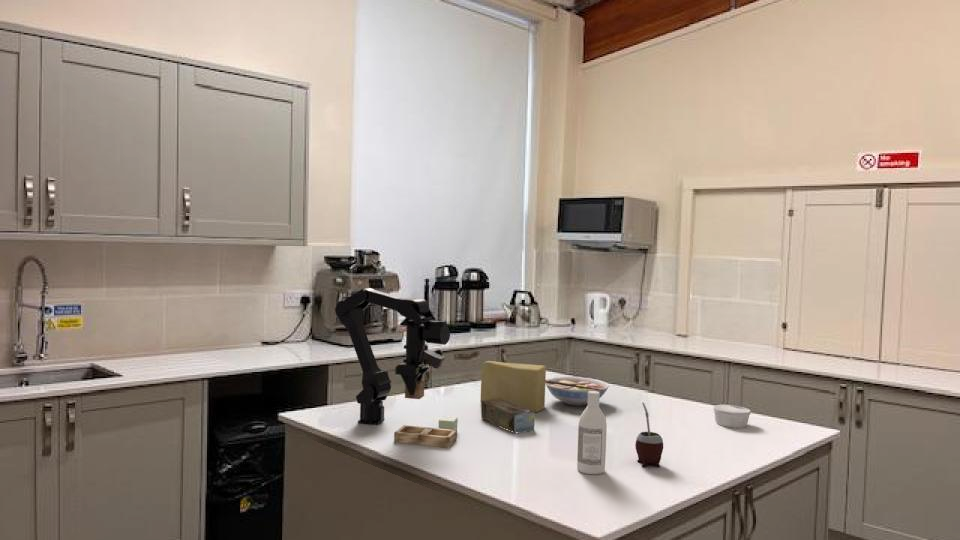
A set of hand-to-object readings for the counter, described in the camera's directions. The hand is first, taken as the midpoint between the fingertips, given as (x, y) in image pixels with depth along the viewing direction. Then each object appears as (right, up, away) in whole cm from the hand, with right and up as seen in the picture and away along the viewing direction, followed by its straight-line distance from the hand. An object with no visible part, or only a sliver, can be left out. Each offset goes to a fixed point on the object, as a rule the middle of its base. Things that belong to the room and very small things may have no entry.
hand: (414, 393), depth 206 cm
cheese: (+30, -11, +33) cm, 46 cm away
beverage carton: (+28, -12, +9) cm, 32 cm away
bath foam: (+48, -14, -32) cm, 59 cm away
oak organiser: (+4, -11, -11) cm, 16 cm away
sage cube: (+10, -11, -3) cm, 16 cm away
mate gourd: (+63, -14, -25) cm, 70 cm away
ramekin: (+101, -13, +18) cm, 103 cm away
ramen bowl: (+54, -11, +40) cm, 68 cm away
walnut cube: (0, -1, 0) cm, 1 cm away
